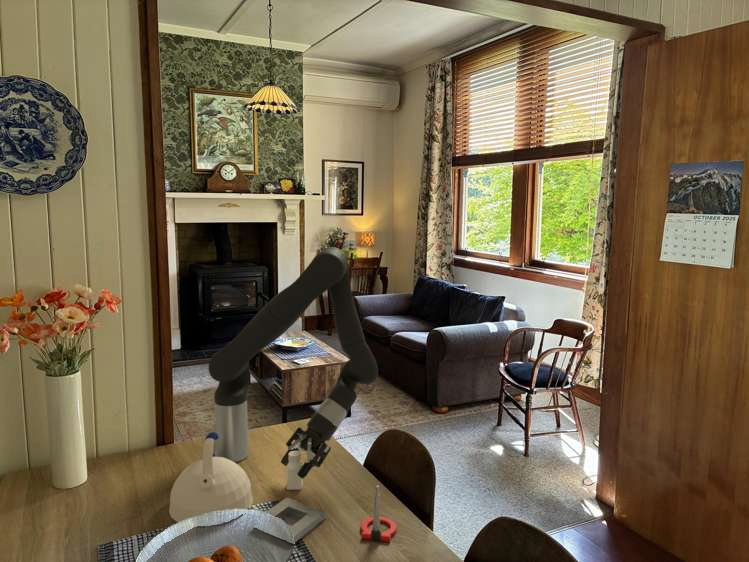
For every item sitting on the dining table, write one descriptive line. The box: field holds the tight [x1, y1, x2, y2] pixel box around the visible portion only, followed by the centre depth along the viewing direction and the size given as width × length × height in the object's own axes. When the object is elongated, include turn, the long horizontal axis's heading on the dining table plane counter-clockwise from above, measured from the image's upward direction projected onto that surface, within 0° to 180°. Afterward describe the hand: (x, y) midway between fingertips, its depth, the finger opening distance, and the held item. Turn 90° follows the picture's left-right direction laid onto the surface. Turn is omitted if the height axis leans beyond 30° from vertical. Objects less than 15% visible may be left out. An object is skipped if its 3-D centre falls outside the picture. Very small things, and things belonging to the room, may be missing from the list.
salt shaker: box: [286, 451, 304, 491], centre depth 150 cm, size 4×4×10 cm
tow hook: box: [360, 485, 398, 543], centre depth 132 cm, size 8×13×9 cm
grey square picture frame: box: [265, 497, 327, 543], centre depth 134 cm, size 12×12×2 cm
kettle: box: [168, 431, 254, 523], centre depth 141 cm, size 20×21×18 cm
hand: (291, 470), depth 150 cm, fingers open, 8 cm apart
